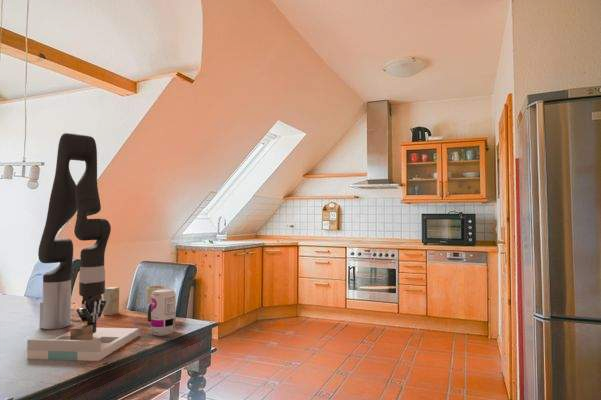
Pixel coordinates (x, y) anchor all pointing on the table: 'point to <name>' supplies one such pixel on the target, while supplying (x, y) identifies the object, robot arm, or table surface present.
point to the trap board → (81, 345)
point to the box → (111, 301)
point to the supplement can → (163, 312)
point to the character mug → (148, 296)
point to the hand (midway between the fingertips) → (91, 333)
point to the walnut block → (81, 332)
